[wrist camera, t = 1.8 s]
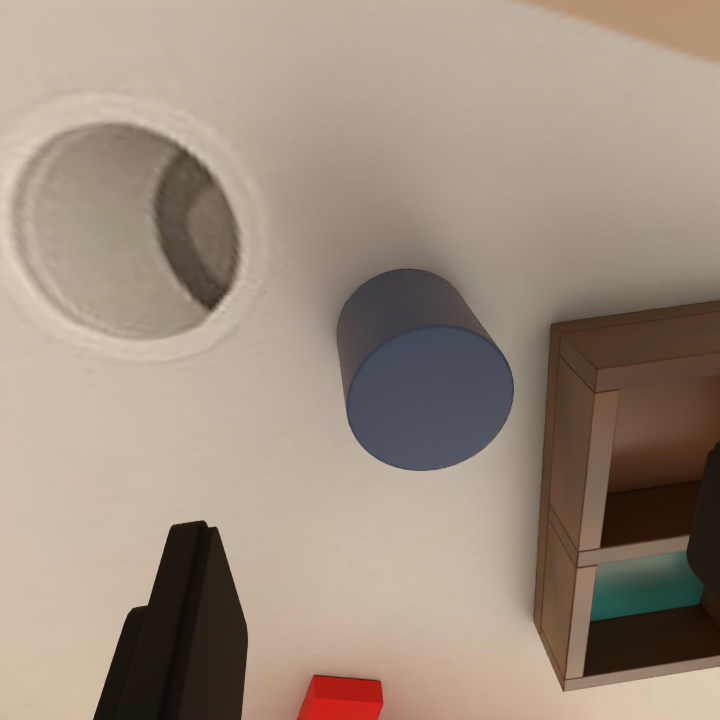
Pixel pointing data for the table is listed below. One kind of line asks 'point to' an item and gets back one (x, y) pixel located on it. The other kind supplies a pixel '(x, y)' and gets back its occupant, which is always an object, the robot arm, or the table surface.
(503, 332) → the table surface
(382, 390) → the cylinder
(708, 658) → the holder
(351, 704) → the bracket
